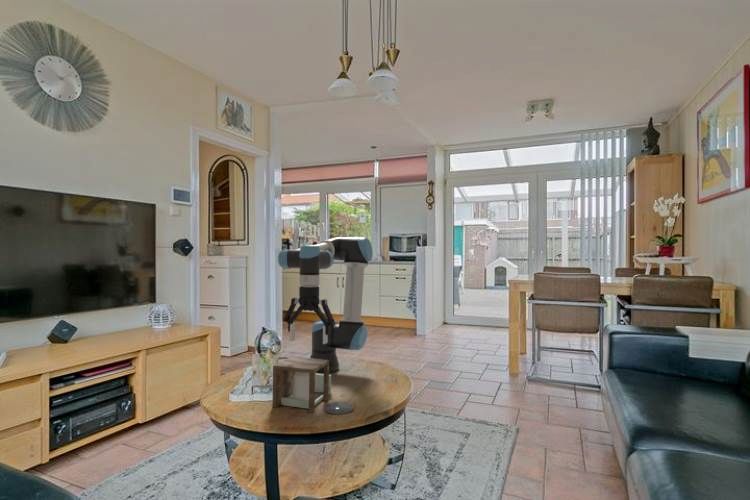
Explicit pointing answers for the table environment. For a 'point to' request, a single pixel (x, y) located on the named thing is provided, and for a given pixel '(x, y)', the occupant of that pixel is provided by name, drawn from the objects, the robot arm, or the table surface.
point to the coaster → (338, 407)
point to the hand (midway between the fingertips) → (308, 341)
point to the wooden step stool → (285, 378)
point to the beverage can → (301, 385)
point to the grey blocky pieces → (305, 403)
